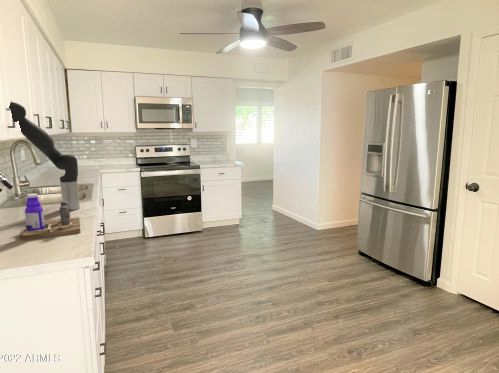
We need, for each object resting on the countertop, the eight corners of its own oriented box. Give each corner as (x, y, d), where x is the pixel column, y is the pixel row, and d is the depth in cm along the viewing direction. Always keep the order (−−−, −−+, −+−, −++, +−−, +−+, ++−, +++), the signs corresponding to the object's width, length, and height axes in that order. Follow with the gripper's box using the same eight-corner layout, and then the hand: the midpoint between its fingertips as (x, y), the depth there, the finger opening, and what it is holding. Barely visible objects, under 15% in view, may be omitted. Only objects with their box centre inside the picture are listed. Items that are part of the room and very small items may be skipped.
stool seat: (26, 226, 171) (24, 203, 169) (79, 220, 182) (77, 198, 180) (20, 240, 150) (17, 214, 148) (80, 232, 161) (78, 208, 159)
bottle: (47, 228, 161) (43, 192, 158) (40, 232, 155) (36, 195, 152) (32, 228, 161) (27, 193, 157) (24, 232, 155) (19, 195, 152)
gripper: (-30, 160, 142) (3, 186, 146) (-10, 157, 156) (20, 181, 160) (-42, 173, 143) (-9, 198, 146) (-20, 169, 157) (9, 192, 160)
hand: (6, 189), depth 153 cm, fingers open, 8 cm apart
